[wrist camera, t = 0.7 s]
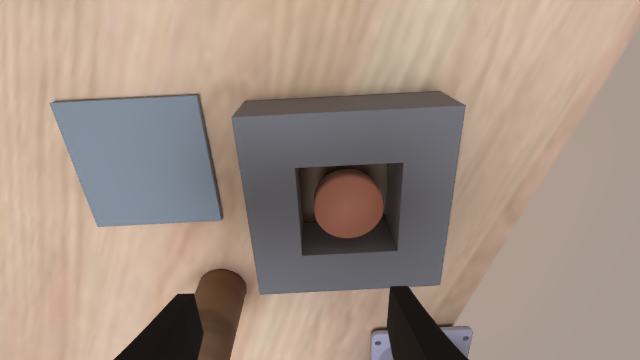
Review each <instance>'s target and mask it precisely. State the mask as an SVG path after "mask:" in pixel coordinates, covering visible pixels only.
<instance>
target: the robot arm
mask: <svg viewBox="0 0 640 360" xmlns="http://www.w3.org/2000/svg"><path fill="white" fill-rule="evenodd" d="M472 334H473V332H472V330H471V328H470V327H468V326H456V327H439V326H438V325H437V324H436V323H435V321H434V320H433V319H432V318H431V316H430V315H429V314H428V313H427V311H426V310H425V309H424V307H423V306H422V305H421V304H420V302H419V301H418V299H417V298H416V297H415V295H414V294H413V293H412V291H411V290H410V288H409V287H408V286H390V294H389V307H388V319H387V330H379V331H374V332H373V333H372V335H371V360H468V353H469V348H470V343H471V339H472ZM203 335H204V332H203V328H202V324H201V320H200V316H199V312H198V308H197V303H196V299H195V295H194V294H177V295H176V296H175V297H174V298H173V299H172V300H171V301H170V302H169V303H168V304H167V306H166V307H165V308H164V309H163V310H162V311H161V312H160V313H159V314H158V315H157V316H156V317H155V318H154V319H153V321H152V322H151V323H150V324H149V325H148V326H147V327H146V328H145V329H144V330H143V331H142V332H141V333H140V334H139V335H138V336H137V337H136V338H135V339H134V340H133V341H132V342H131V343H130V344H129V345H128V346H127V347H126V348H125V349H124V350H123V351H122V352H121V353H120V354H119V355H118V356H117V357H116V358H115V359H114V360H198V356H199V352H200V348H201V344H202V339H203Z"/></svg>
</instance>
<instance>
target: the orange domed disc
mask: <svg viewBox="0 0 640 360" xmlns="http://www.w3.org/2000/svg"><path fill="white" fill-rule="evenodd" d="M383 208H384V205H383V199H382V196H381V194H380V191H379V189H378V186H377V184H376V183H375V181H374V180H373V179H372V178H371V177H370V176H369V175H367V174H366V173H364V172H362V171H359V170H355V169H342V170H337V171H335V172H332V173H330V174H329V175H327V176H326V177H325V178H324V179H322V181H321V182H320V183H319V185H318V186H317V188H316V191H315V195H314V213H315V217H316V220H317V222H318V224H319V225H320V226H321V228H322V229H323V230H325V231H326V232H327V233H329V234H331V235H333V236H336V237H340V238H354V237H359V236H362V235H364V234H366V233H368V232H369V231H371V230H372V229H373V228H374V227H375V226H376V225H377V224H378V222H379V221H380V219H381V217H382V214H383Z"/></svg>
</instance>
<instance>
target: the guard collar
mask: <svg viewBox="0 0 640 360" xmlns="http://www.w3.org/2000/svg"><path fill="white" fill-rule="evenodd" d="M465 106H466V105H464V104H462V103H460V102H458V101H456V100H455V99H453V98H451V97H449V96H447V95H445V94H444V93H442V92H440V91H437V92H417V93H397V94H377V95H357V96H337V97H317V98H297V99H277V100H257V101H245V102H244V103H243V104H242V105H241V106H240V108H239V109H238V110H237V111H236V112H235V114H234V115H233V116H232V123H233V129H234V135H235V141H236V148H237V154H238V160H239V166H240V173H241V179H242V185H243V191H244V198H245V204H246V210H247V216H248V223H249V229H250V235H251V241H252V248H253V254H254V260H255V267H256V273H257V279H258V285H259V292H260V295H262V294H281V293H300V292H319V291H339V290H358V289H377V288H390V286H408V287H415V286H434V285H440V282H441V275H442V268H443V261H444V254H445V247H446V240H447V233H448V226H449V219H450V212H451V205H452V198H453V191H454V184H455V176H456V169H457V162H458V155H459V148H460V141H461V134H462V127H463V120H464V113H465ZM385 163H388V172H387V193H386V215H385V219H380V221H379V222H378V224H377V225H376V226H375V227H374V228H373V229H372V230H371V231H369V232H368V233H366V234H364V235H362V236H359V237H354V238H340V237H336V236H333V235H331V234H329V233H327V232H326V231H325V230H323V229H322V228H321V226H320V225H319V224H318V222H309V223H303V213H302V200H301V187H300V174H299V168H306V167H325V166H345V165H365V164H385Z"/></svg>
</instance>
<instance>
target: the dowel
mask: <svg viewBox="0 0 640 360" xmlns="http://www.w3.org/2000/svg"><path fill="white" fill-rule="evenodd" d="M245 294H246V284H245V282H244V280H243V279H242V278H241V277H240V276H239V275H238V274H236V273H235V272H232V271H229V270H225V269H217V270H212V271H210V272H208V273H206V274H205V275H204V276H203V277H202V278H201V280H200V283H199V285H198V287H197V290H196V292H195V294H194V295H195V299H196V303H197V308H198V312H199V316H200V320H201V324H202V328H203V332H204V335H203V339H202V344H201V348H200V352H199V356H198V360H230V357H231V352H232V348H233V344H234V340H235V336H236V331H237V327H238V323H239V319H240V315H241V311H242V306H243V302H244V298H245Z"/></svg>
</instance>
